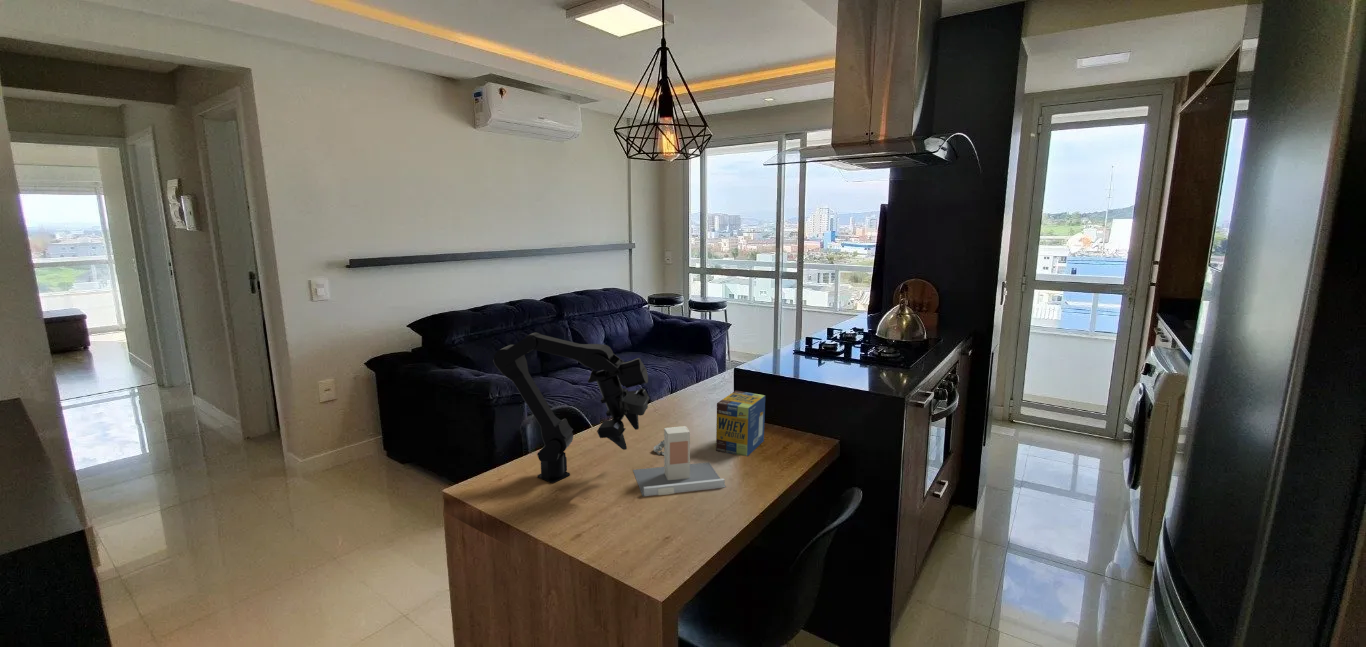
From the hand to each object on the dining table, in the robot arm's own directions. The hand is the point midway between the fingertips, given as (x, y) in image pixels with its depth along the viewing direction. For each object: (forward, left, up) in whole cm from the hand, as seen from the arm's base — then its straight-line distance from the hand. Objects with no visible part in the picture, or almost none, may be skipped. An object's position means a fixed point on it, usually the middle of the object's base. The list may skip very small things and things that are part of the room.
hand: (631, 439), depth 156 cm
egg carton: (+18, 0, -11) cm, 21 cm away
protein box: (+36, -14, -11) cm, 40 cm away
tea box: (+4, -13, -9) cm, 16 cm away
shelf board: (+3, -14, -10) cm, 17 cm away
